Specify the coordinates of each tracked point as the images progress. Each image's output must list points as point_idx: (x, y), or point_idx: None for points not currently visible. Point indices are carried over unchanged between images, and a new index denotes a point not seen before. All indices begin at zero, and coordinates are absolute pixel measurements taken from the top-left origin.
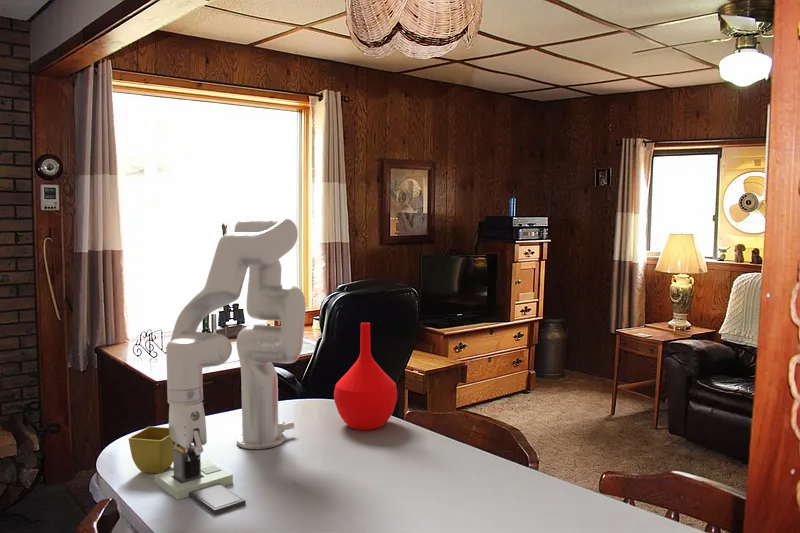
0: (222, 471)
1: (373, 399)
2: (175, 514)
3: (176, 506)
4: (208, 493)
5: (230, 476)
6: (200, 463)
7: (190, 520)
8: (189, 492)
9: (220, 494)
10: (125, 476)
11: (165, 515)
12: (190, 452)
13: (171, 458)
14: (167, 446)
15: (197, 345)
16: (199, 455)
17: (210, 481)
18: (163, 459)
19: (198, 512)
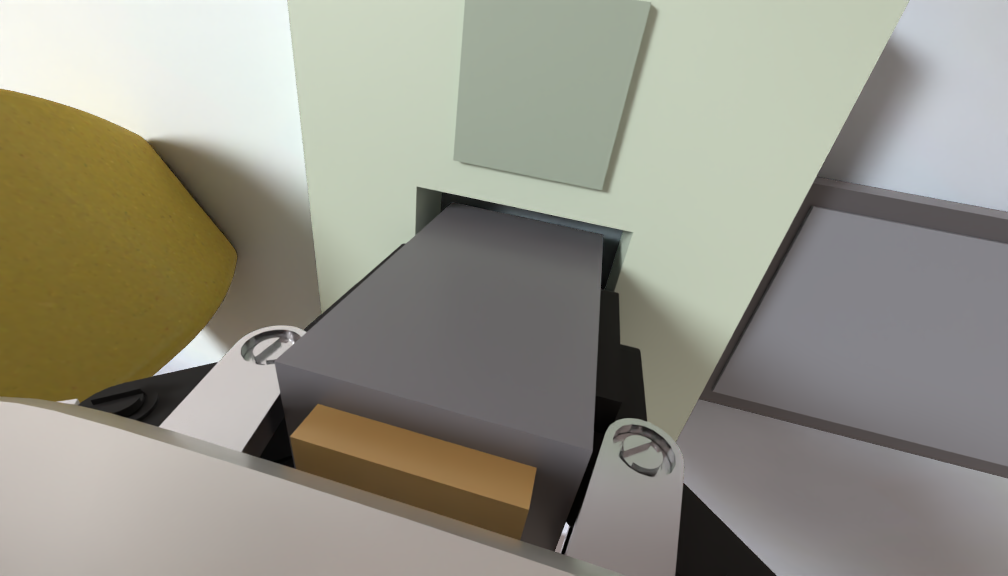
0: (694, 15)
1: None
2: (789, 522)
3: (716, 470)
4: (861, 362)
5: (886, 29)
6: (597, 315)
7: (936, 544)
8: None
9: (997, 333)
10: (192, 355)
11: (745, 538)
12: (555, 547)
13: (118, 177)
14: (45, 313)
15: None
16: (753, 556)
17: (766, 269)
18: (185, 306)
19: (917, 479)
